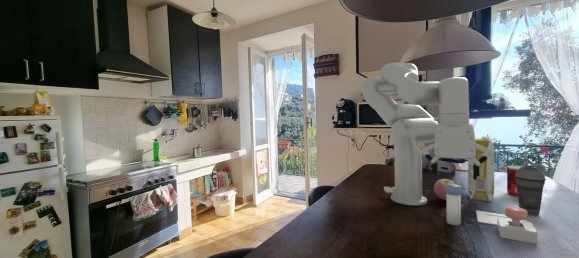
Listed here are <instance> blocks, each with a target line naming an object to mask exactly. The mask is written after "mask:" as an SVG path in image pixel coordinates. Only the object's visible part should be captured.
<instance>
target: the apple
mask: <svg viewBox="0 0 579 258" xmlns="http://www.w3.org/2000/svg"><path fill="white" fill-rule="evenodd" d="M446 184H456V182H455V181H453V180H451V179H450V178H449V179H448V178H442V179H439V180H436V182H435V183H434V185H433V186H434V187H433V191H434V193H435V195H436V196H437V197H438V198H439V199H441V200H443V201H446V202H447V198H446ZM456 185H457V184H456Z"/></svg>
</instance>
